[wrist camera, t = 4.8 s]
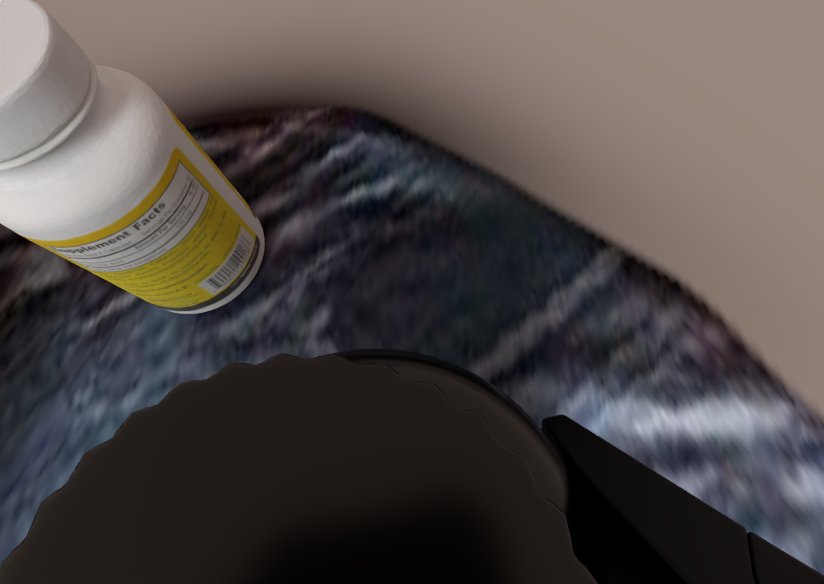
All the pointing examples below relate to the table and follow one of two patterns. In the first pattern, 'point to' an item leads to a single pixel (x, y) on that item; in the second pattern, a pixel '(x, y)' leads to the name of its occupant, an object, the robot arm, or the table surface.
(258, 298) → the table surface
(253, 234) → the supplement bottle
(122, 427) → the supplement bottle
